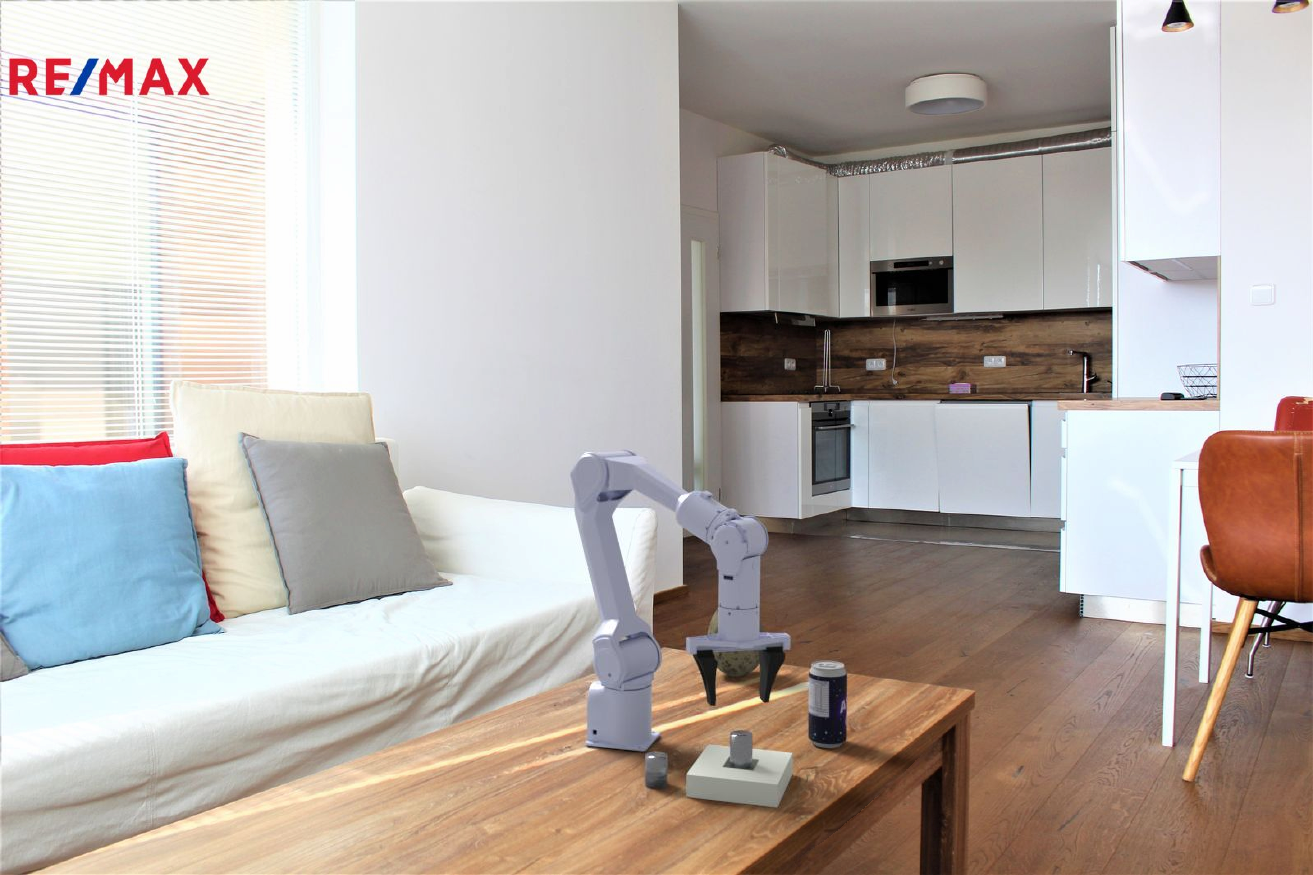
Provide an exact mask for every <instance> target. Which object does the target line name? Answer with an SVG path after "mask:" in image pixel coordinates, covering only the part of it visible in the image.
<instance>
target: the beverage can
mask: <svg viewBox="0 0 1313 875" xmlns="http://www.w3.org/2000/svg"><path fill="white" fill-rule="evenodd" d="M847 701H848V673H847V671H846V668H845V664H844V663H842V662H840V661H834V660H816V661H814V662H812V663H811V667H810V669H809V671H808V715H807V716H808V718H807V719H808V722H807V723H808V725H807V726H808V730H807V731H808V734H807V737H808V739H809V740H810V741H811V742H812V743H813V745H814V746H815V747H816V746H817V748H818V747H819V748H823V749H835V748H839V747H840V746H842V744H843V743H845V742H846V741H847V735H848V734H847V731H848V730H847V727H848V726H847V725H848V723H847V722H848V720H847V719H848V717H847V716H848V702H847Z"/></svg>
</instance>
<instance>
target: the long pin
mask: <svg viewBox="0 0 1313 875" xmlns="http://www.w3.org/2000/svg"><path fill="white" fill-rule="evenodd" d="M753 736H754V735H753V733H752V732H751V731H748V730H743V729H741V730H740V729H739V730H738V729H737V730H732V731H730V734H729V746H730V768H735V769H745V770H752V749H753V739H754V738H753Z"/></svg>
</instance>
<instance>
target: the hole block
mask: <svg viewBox="0 0 1313 875" xmlns="http://www.w3.org/2000/svg"><path fill="white" fill-rule="evenodd" d="M793 764H794V757H793V752H788V751H787V752H786V751H778V750H770V749H760V748H759V749H757V748H752V770H745V769H735V768H730V745H729V746H728V745H720V744H719V745H717V744H707V745H706V747H705V748H704V749H703V751H702V753H700V755H699V756H698V758H697V759H696V761H695V762H693V764H692V766H691V767H690V769H689V770H688V771H687V773H686V777H685V778H686V780H685V781H686V783H685V786H686V787H685V789H686V791H685V793H686V794H685V795H686V798H693V799H701V800H710V801H711V800H712V801H718V802H726V803H727V802H728V803H734V804H742V805H744V804H745V805H754V806H761V807H768V808H769V807H770V808H779V804H780V803H781V800H782V798H783V796H784V794H785V791H786V789H787V787H788V785H789V783H790V781H791V778H792V776H793V774H794V773H793V770H794V769H793V768H794V767H793Z"/></svg>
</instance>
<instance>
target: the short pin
mask: <svg viewBox="0 0 1313 875" xmlns="http://www.w3.org/2000/svg"><path fill="white" fill-rule="evenodd" d="M644 757H645V758H644V759H645V760H644V761H645V762H644V764H645V765H644V768H645V769H644V777H645V778H644V780H645V781H644V785H645V788H649V789H652V790H661V789H665V788H666V787H667V786H668V754H667V753H665V752H663V751H649V752H647V753H646V754H644Z"/></svg>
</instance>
